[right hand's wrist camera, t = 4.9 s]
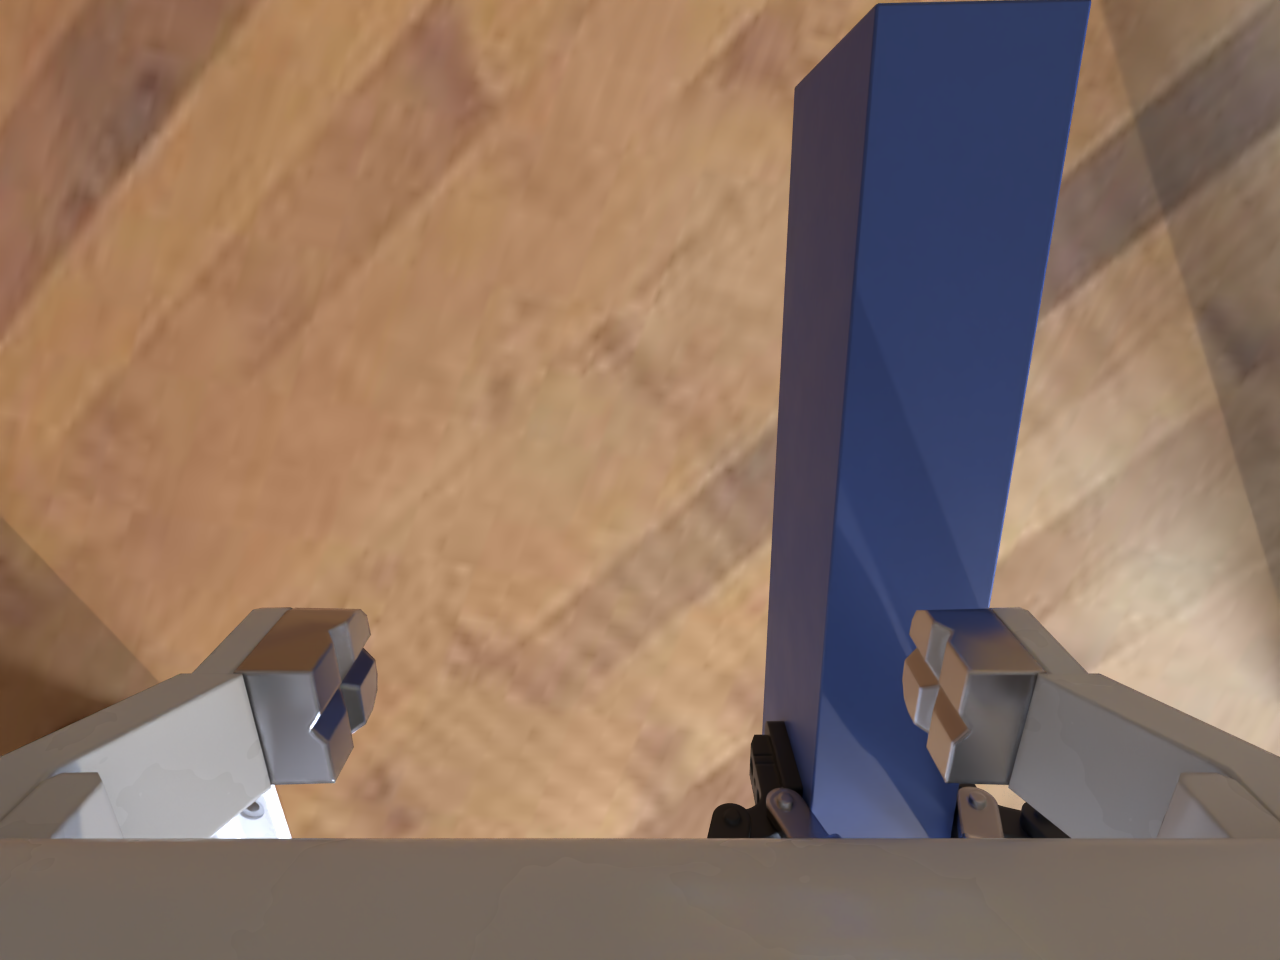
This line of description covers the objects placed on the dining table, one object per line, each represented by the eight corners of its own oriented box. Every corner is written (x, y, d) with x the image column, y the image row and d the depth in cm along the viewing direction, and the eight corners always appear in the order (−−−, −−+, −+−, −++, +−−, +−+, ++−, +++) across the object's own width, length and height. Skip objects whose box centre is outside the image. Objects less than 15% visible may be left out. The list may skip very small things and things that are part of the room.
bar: (794, 86, 23) (875, 2, 15) (934, 83, 23) (1093, -3, 15) (761, 737, 31) (802, 911, 23) (863, 736, 31) (939, 910, 23)
